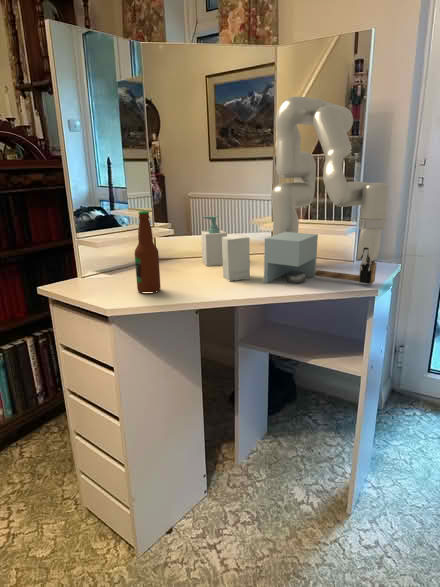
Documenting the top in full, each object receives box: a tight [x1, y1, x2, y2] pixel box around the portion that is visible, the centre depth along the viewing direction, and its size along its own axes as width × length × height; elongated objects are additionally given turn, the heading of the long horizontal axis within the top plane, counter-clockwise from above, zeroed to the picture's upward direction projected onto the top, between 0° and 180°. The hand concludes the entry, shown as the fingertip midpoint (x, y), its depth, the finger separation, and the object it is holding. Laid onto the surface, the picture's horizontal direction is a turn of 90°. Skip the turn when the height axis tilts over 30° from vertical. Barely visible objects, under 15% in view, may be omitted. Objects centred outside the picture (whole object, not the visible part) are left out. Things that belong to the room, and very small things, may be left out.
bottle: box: [134, 210, 162, 293], centre depth 126 cm, size 7×7×25 cm
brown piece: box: [315, 262, 377, 285], centre depth 134 cm, size 19×4×6 cm, turn 57°
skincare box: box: [222, 234, 251, 281], centre depth 140 cm, size 8×6×15 cm
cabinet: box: [263, 232, 319, 284], centre depth 137 cm, size 12×16×15 cm
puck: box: [286, 271, 306, 285], centre depth 137 cm, size 6×6×3 cm
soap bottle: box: [201, 215, 228, 267], centre depth 163 cm, size 9×9×19 cm
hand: (366, 280), depth 131 cm, fingers closed on brown piece, 4 cm apart
